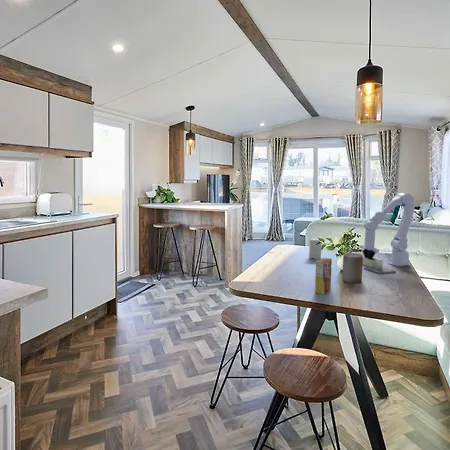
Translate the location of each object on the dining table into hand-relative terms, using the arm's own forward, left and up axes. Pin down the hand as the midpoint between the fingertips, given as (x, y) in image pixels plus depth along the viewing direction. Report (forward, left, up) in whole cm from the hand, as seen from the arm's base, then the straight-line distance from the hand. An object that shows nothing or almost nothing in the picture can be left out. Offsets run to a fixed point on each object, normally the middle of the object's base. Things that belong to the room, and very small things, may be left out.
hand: (368, 261), depth 226 cm
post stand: (+5, +15, -1) cm, 16 cm away
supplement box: (+23, -24, -2) cm, 33 cm away
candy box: (+59, +38, -2) cm, 70 cm away
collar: (0, +3, -1) cm, 4 cm away
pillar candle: (+34, +27, -2) cm, 44 cm away
